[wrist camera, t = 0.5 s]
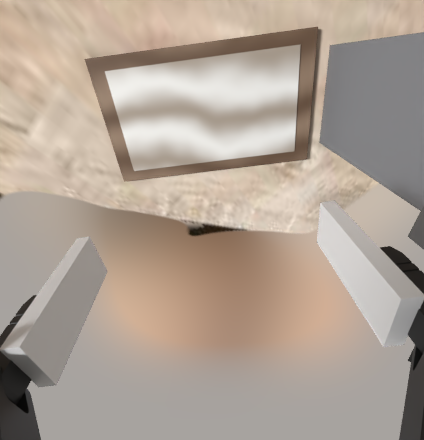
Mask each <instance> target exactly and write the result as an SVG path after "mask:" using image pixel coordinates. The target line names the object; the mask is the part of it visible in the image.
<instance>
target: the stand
mask: <svg viewBox="0 0 424 440" xmlns="http://www.w3.org/2000/svg"><path fill="white" fill-rule="evenodd" d="M320 143H321V144H322V145H324V146H325V147H327V148H328V149H330V150H331V151H333V152H334V153H336V154H337V155H339V156H340V157H342V158H343V159H344V160H346V161H347V162H349V163H350V164H352V165H353V166H355V167H356V168H358V169H359V170H361V171H362V172H364V173H365V174H367V175H368V176H370V177H371V178H373V179H374V180H376V181H377V182H379V183H380V184H382V185H383V186H384V187H386V188H388V189H389V190H390V191H392V192H393V193H395V194H396V195H398V196H399V197H401V198H402V199H404V200H405V201H407V202H408V203H410V204H411V205H413V206H414V207H416V208H417V209H419V210H420V211H421V210H422V208H423V207H424V32H423V33H415V34H408V35H401V36H394V37H387V38H380V39H372V40H365V41H358V42H351V43H344V44H337V45H330V51H329V60H328V69H327V78H326V87H325V97H324V106H323V115H322V124H321V133H320Z"/></svg>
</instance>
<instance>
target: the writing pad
mask: <svg viewBox="0 0 424 440" xmlns="http://www.w3.org/2000/svg"><path fill="white" fill-rule="evenodd" d="M317 33H318V27H313V28H306V29H298V30H291V31H284V32H277V33H270V34H262V35H255V36H248V37H241V38H234V39H226V40H219V41H212V42H205V43H198V44H191V45H183V46H176V47H169V48H162V49H155V50H147V51H140V52H133V53H126V54H119V55H111V56H104V57H97V58H90V59H85V61H86V65H87V68H88V71H89V74H90V77H91V80H92V83H93V86H94V89H95V92H96V96H97V99H98V102H99V105H100V108H101V111H102V114H103V117H104V120H105V123H106V126H107V130H108V133H109V136H110V139H111V142H112V145H113V148H114V151H115V154H116V157H117V161H118V164H119V167H120V170H121V173H122V176H123V179H124V181H132V180H140V179H148V178H156V177H165V176H173V175H181V174H189V173H197V172H205V171H213V170H222V169H230V168H238V167H246V166H254V165H262V164H271V163H279V162H287V161H295V160H303V159H307V151H308V139H309V127H310V115H311V104H312V92H313V80H314V69H315V57H316V45H317Z"/></svg>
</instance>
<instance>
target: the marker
mask: <svg viewBox="0 0 424 440" xmlns="http://www.w3.org/2000/svg"><path fill="white" fill-rule="evenodd" d="M408 237H409V238H410V239H412V240H413V241H414V242H415V243H417V244H418V245H419V246H420V247H421V248H422V249H424V207H423V208H422V210H421V212H420V214H419V216H418V218H417V220H416V222H415V224H414V226H413V227H412V229H411V231H410V233H409V235H408Z"/></svg>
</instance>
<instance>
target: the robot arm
mask: <svg viewBox="0 0 424 440" xmlns="http://www.w3.org/2000/svg"><path fill="white" fill-rule="evenodd" d="M317 243H318V245H319V246H320V248H321V249H322V251H323V252H324V254H325V256H326V257H327V259H328V260H329V262H330V264H331V265H332V266H333V268H334V270H335V271H336V273H337V275H338V276H339V278H340V279H341V281H342V282H343V284H344V285H345V287H346V289H347V290H348V292H349V293H350V295H351V297H352V298H353V300H354V301H355V303H356V305H357V306H358V308H359V309H360V311H361V312H362V314H363V315H364V317H365V319H366V320H367V322H368V323H369V325H370V327H371V328H372V330H373V331H374V333H375V334H376V336H377V338H378V339H379V341H380V342H381V344H382V346H383V347H388V346H397V345H404V344H405V341H406V339H407V337H408V336H409V337H410V338H411V340H412V341H413V342H414V343H415V347H414V349H413V351H412V353H411V355H410V357H409V359H408V361H410V362H411V368H410V374H409V380H408V387H407V394H406V399H405V406H404V412H403V419H402V425H401V432H400V438H399V440H424V273H423V272H422V271H419V268H418V267H417V266H415V265H414V264H413V263H411V261H410V260H409V259H408V258H407V257H406V256H405V255H404V254H403V253H402V252H400V251H398V250H396V249H394V248H392V247H390V246H388V247H381V248H379V247H378V246H377V245H376V243H375V242H374V241H373V240H372V239H371V238H370V237H369V236H368V235H367V234H366V233H365V232H364V231H363V230H362V229H361V228H360V227H359V226H358V225H357V223H356V222H354V220H353V219H352V218H351V217H350V216H349V215H348V214H347V213H346V212H345V211H344V210H343V209H342V208H341V207H340V206H339V205H338V203H337V202H336V201H335V200H334V201H327V202H321V203H320V213H319V224H318V236H317ZM106 274H107V269H106V267H105V265H104V263H103V262H102V259H101V257H100V256H99V254H98V252H97V250H96V248H95V246H94V244H93V242H92V240H91V238H90V237H83V238H77V239H76V241H75V242H74V243H73V245H72V247H71V248H70V249H69V251H68V252H67V253H66V255H65V256H64V258H63V259H62V260H61V262H60V263H59V265H58V266H57V268H56V269H55V270H54V272H53V273H52V275H51V276H50V278H49V279H48V280H47V282H46V284H45V285H44V286H43V288H42V289H41V290H40V292H39V293H38V295H34V296H33V297H31V298H30V299H29V300H28V301H27V302H26V303H25V304H23V306H22V307H21V308H20V310H19V311H18V312H17V314H16V317H14V318H13V319H12V321H11V322H10V325H8V326H7V327H6V329H5V330H4V331H3V333H2V334H1V336H0V440H41V438H40V434H39V429H38V425H37V420H36V416H35V411H34V407H33V403H32V398H31V394H30V392H29V391H28V389H27V387H28V385H29V383H30V381H31V380H32V381H33V382H34V383H35V384H36V385H37V386H38V387H45V386H53V385H57V383H58V381H59V379H60V376H61V374H62V372H63V370H64V367H65V365H66V363H67V361H68V358H69V356H70V354H71V352H72V349H73V347H74V345H75V343H76V340H77V338H78V336H79V334H80V332H81V329H82V327H83V325H84V323H85V321H86V318H87V316H88V314H89V311H90V309H91V307H92V305H93V303H94V300H95V298H96V296H97V294H98V292H99V289H100V287H101V285H102V283H103V280H104V278H105V276H106Z"/></svg>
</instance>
